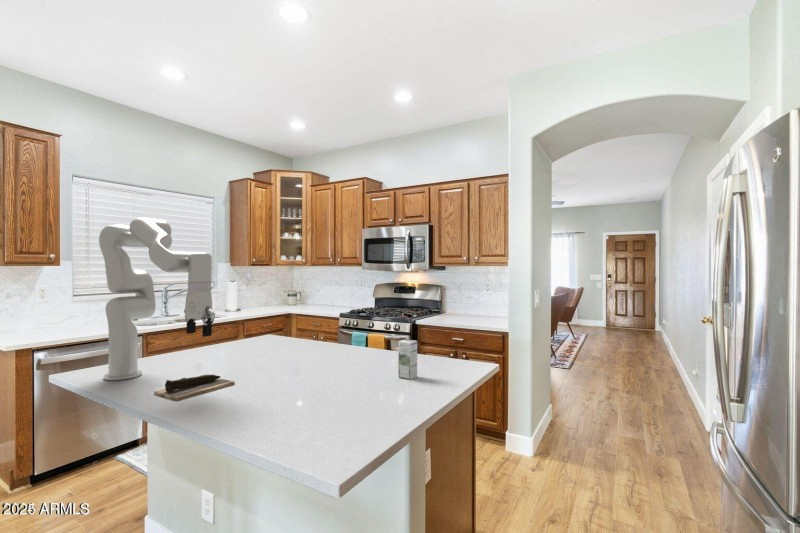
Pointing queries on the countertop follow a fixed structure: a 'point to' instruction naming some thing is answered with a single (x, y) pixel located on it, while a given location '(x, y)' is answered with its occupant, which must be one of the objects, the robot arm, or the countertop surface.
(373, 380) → the countertop surface
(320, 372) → the countertop surface
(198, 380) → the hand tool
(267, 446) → the countertop surface
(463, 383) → the countertop surface
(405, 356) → the syrup box
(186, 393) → the plywood panel
